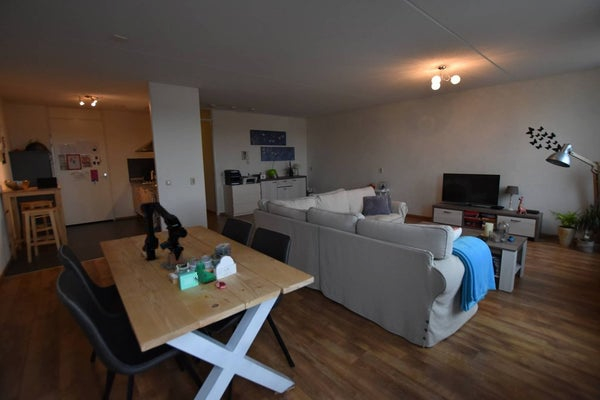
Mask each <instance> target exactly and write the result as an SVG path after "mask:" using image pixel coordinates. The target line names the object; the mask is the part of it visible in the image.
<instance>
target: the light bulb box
mask: <svg viewBox="0 0 600 400" xmlns="http://www.w3.org/2000/svg"><path fill="white" fill-rule="evenodd" d="M231 246H232V245H231V243H227V242H222V243H220V244H218V245H217V246H215V247H214V255H215V256H216V255H220V256H224V255H227V256H231V257H232V247H231ZM215 256H214V257H215Z"/></svg>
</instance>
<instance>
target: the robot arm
mask: <svg viewBox="0 0 600 400" xmlns="http://www.w3.org/2000/svg"><path fill="white" fill-rule="evenodd" d="M139 208H140V212H141V214H143V216H144V223H145V233H146V237H145V239H144V245H143V246H142V248H141V251H142V252H145V256H146V257H145V258H144V259H145V260H147V261H152V260H157V259H158V257H157V254H156V250H158V249H159V247H160V249H161V250H162V251H164V250H166V249H167V250H169V251H170V252H173V253H174V254H175V258H176V261H177V260H178V259H179V257H180V254H181V252H182V253H183V252H184V251H185V248H184V247H183V245H181V243H180V242H179V240H180V239H181V238H182V239H184V238H187V236H188V230H187V229H186V228H185V226H183V225H182V224H183V223H181V221H180V220H179V218H178V216H176V215H175V214H172V213H170V212H169V211H168V210H167V209H166V208H165V207H164V206H163V205H161V204H160V202H159V201H153V202H152V201H150V202H149V201H147V202H143V203H141V204H140V206H139ZM155 212H156V213H157V214H158V215H159V216H160V217H161V218H162V219H163V223H164V224H165V225H166V227H165V230H167V235H168V237H167V240H165V241H162V242H161V243H160V241H159V239H160V238H159V237H157V236H156V235H155V224H154V217H153V215H154V214H155Z"/></svg>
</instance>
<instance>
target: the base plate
mask: <svg viewBox="0 0 600 400" xmlns="http://www.w3.org/2000/svg"><path fill="white" fill-rule="evenodd" d="M188 261H189V260H187V259H186V258H185V257H183V262H182V263H178V264H185V263H186V262H188ZM160 263H161V265H162V266H163V267H164V268H165V269H166V270H167V271H170V270H175V269H176V268H175V267H176V265H177V264H174V265H170V263H168V260H166V261H163V262H160Z"/></svg>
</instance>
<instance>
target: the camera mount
mask: <svg viewBox="0 0 600 400" xmlns="http://www.w3.org/2000/svg"><path fill="white" fill-rule="evenodd" d="M194 271H195V272H197V275H198V282H199V283H207V282H211V281H213V280H217V276H216V274H214V273H212V272H210V271H208V270H206V265H205V263H204V262H200V263H196V265H195V269H194Z"/></svg>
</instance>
